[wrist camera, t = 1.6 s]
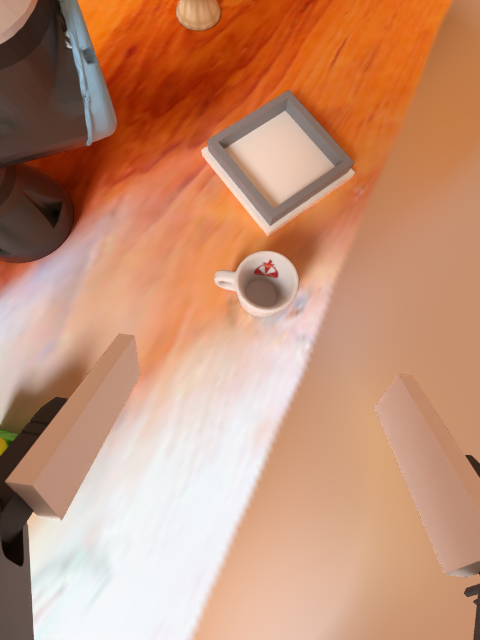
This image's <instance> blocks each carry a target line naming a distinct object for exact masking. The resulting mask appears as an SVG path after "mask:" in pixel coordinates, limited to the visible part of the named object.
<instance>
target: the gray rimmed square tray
mask: <svg viewBox="0 0 480 640" xmlns="http://www.w3.org/2000/svg"><path fill="white" fill-rule="evenodd" d="M207 143H208V146H207V147H205V148H204V149H202V156H203V157H204V158H205V160H206V161H207V162H208V163H209V164H210V166H211V167H212V168H213V169H214V171H215V172H216V173H217V174H218V176H219V177H220V178H221V179H222V181H223V182H224V183H225V184H226V185H227V187H228V188H229V189H230V190H231V192H232V193H233V194H234V195H235V197H236V198H237V199H238V200H239V201H240V203H241V204H242V205H243V206H244V208H245V209H246V210H247V211H248V213H249V214H250V215H251V216H252V217H253V219H254V220H255V221H256V222H257V224H258V225H259V226H260V227H261V229H262V230H263V231H264V232H265V233H266V235H267V236H270V235H271V234H273V233H274V232H276V231H277V230H278V229H280V228H281V227H283V226H284V225H286V224H287V223H288V222H290V221H291V220H293V219H294V218H296V217H297V216H298V215H300V214H301V213H303V212H304V211H306V210H307V209H308V208H310V207H311V206H313V205H314V204H316V203H317V202H318V201H320V200H321V199H323V198H324V197H326V196H327V195H329V194H330V193H331V192H333V191H334V190H336V189H337V188H339V187H340V186H341V185H343V184H344V183H346V182H347V181H349V180H350V179H351V178H352V177H353V176H354V174H355V172H354V171H353V170H352V169H351V167H352V165H353V164H354V161H353V160H352V159H351V158H350V157H349V156H348V155H347V154H346V152H345V151H344V150H343V149H342V148H341V147H340V146H339V145H338V144H337V142H336V141H335V140H334V139H333V138H332V137H331V136H330V135H329V134H328V132H327V131H326V130H325V129H324V128H323V127H322V126H321V125H320V124H319V122H318V121H317V120H316V119H315V118H314V117H313V116H312V115H311V114H310V112H309V111H308V110H307V109H306V108H305V107H304V106H303V105H302V104H301V102H300V101H299V100H298V99H297V98H296V97H295V96H294V95H293V94H292V92H291V91H290V90H288V91H286V92H285V93H283V94H281V95H280V96H278V97H276V98H275V99H273V100H272V101H270V102H268V103H267V104H265V105H263V106H262V107H260V108H259V109H257V110H255V111H254V112H252V113H250V114H249V115H247V116H246V117H244V118H242V119H241V120H239V121H237V122H236V123H234V124H233V125H231V126H229V127H228V128H226V129H224V130H223V131H221V132H220V133H218V134H216V135H215V136H213V137H211V138H210V139H208V140H207Z"/></svg>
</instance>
